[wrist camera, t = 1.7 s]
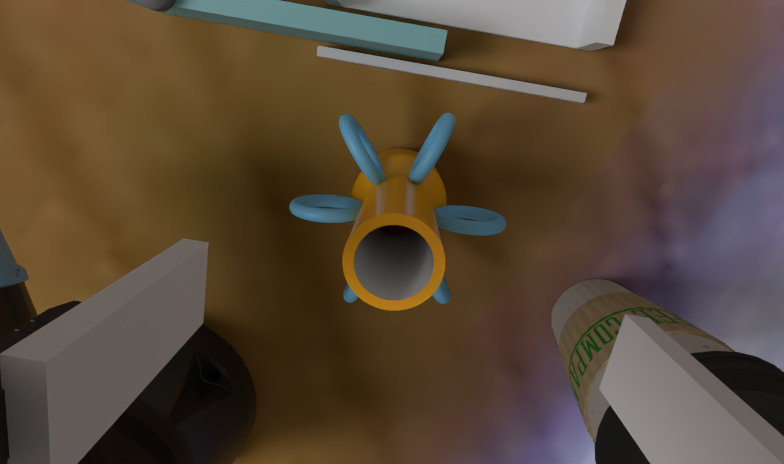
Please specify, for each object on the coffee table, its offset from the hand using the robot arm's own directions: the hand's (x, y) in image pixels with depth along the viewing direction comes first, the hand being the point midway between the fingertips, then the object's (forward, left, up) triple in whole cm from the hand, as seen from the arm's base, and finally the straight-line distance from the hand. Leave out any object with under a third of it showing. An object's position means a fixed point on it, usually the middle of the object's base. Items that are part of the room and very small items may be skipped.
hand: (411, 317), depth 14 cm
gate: (-9, +10, -18) cm, 23 cm away
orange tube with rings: (-1, 0, -19) cm, 19 cm away
